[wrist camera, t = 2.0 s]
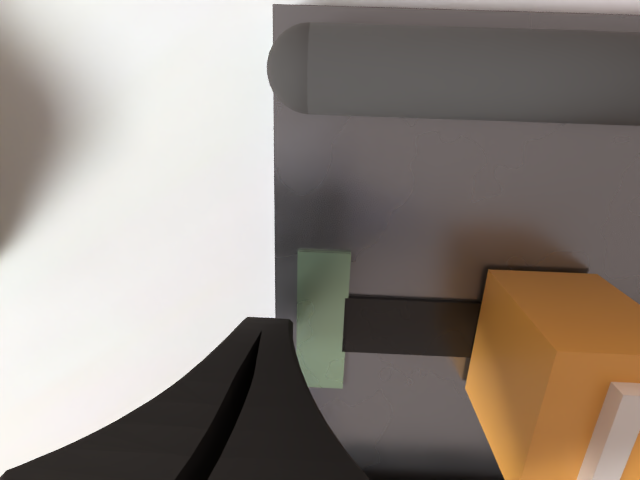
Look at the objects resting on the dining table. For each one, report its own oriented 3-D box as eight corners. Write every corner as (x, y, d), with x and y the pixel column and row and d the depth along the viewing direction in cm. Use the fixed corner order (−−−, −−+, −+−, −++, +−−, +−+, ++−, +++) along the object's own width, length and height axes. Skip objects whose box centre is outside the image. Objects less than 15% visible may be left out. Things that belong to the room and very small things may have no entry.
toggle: (560, 392, 14) (658, 524, 10) (464, 388, 14) (521, 517, 10) (596, 273, 12) (732, 371, 8) (488, 269, 12) (567, 364, 8)
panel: (657, 504, 17) (683, 537, 16) (280, 485, 18) (276, 516, 16) (877, 30, 11) (948, 23, 10) (279, 11, 11) (271, 3, 10)
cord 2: (885, 131, 11) (1003, 141, 9) (273, 110, 11) (261, 115, 9) (928, 47, 10) (1066, 37, 8) (272, 26, 10) (259, 13, 8)
